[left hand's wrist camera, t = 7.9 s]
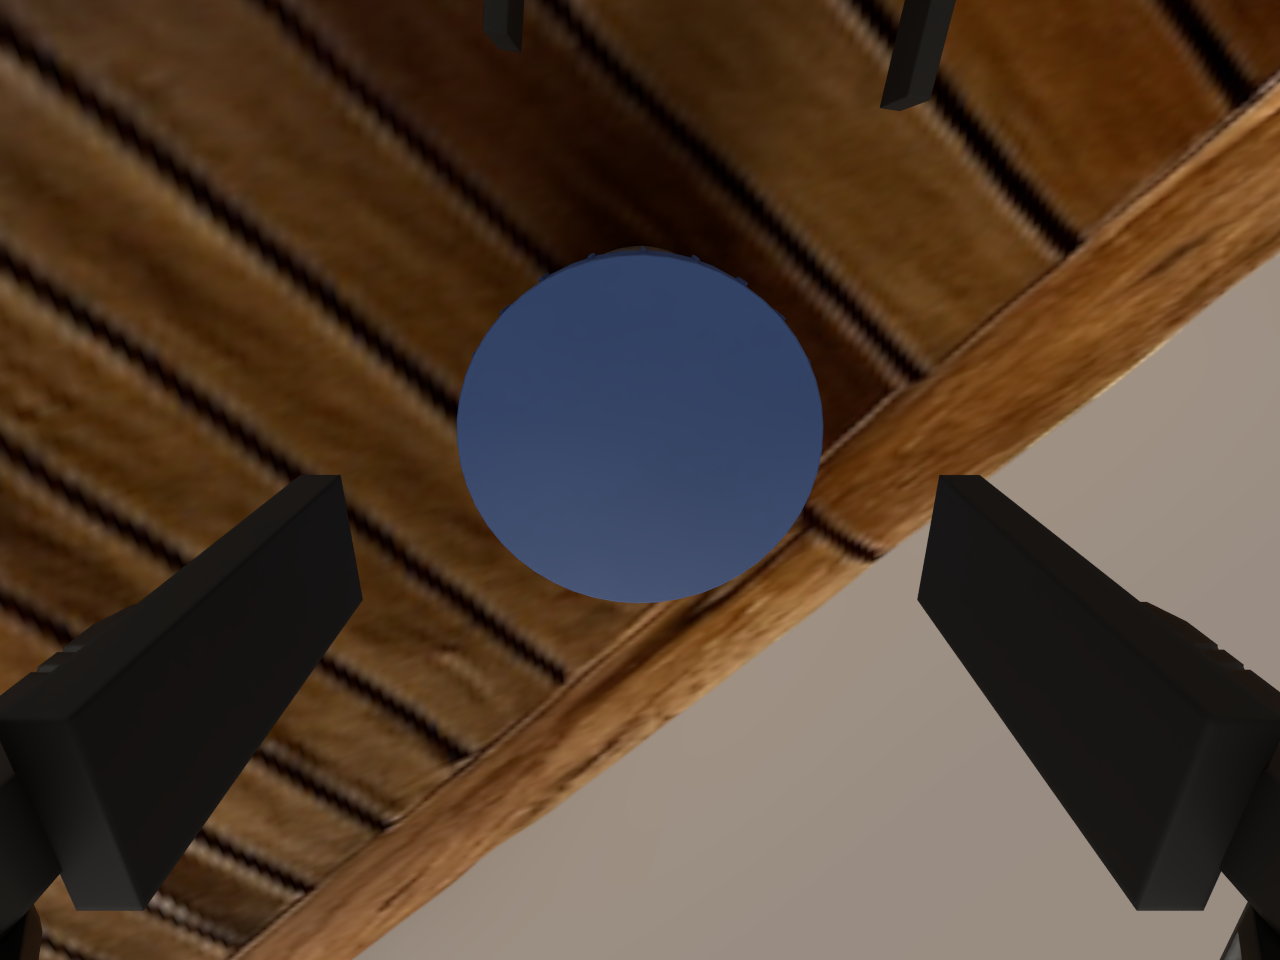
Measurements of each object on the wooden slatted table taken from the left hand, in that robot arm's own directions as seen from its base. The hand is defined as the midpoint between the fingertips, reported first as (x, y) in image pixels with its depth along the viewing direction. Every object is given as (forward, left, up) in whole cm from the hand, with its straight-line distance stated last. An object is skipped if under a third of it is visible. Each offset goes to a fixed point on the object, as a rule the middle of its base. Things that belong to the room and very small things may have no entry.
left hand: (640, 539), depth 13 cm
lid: (0, 0, -6) cm, 6 cm away
